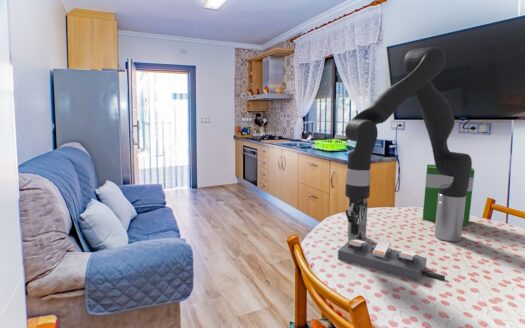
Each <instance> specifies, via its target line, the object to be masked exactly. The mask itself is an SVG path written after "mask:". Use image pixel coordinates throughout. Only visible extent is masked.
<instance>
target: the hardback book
mask: <svg viewBox="0 0 525 328" xmlns="http://www.w3.org/2000/svg"><path fill="white" fill-rule="evenodd" d="M453 178H454V177H451V176H445V175H442V174H440V173H439V172H438V171H437V169H436V166H435V164H427V165H426V175H425V187H424V199H423V208H422V210H423V212H422V220H423V221H432V222H436V212H437V202H438V190H439V186H440V185H444V184H450V183H452V182H453ZM474 178H475V169H474V167H472V168H471V174H470V179H469V186H468V189H467V192H466V200H465V210H464V219H463V226H469V224H470V214H471V213H470V212H471V206H472V205H471V204H472V197H473V196H472V195H473V189H474V187H473V186H474Z"/></svg>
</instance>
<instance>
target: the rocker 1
mask: <svg viewBox="0 0 525 328" xmlns="http://www.w3.org/2000/svg"><path fill="white" fill-rule="evenodd" d="M364 243H367V241H366V240H365V241H361V240H357V239H356V240H351V241H349V244H350V245H354V246H358V247H360V246H362V245H363V244H364Z"/></svg>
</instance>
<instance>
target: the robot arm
mask: <svg viewBox="0 0 525 328" xmlns="http://www.w3.org/2000/svg"><path fill="white" fill-rule="evenodd" d="M446 63H447V58H446V53H445V51H444V50H443V49H442V48H439V47H435V46H434V47H432V46H431V47H420V48H412V49H410V50H409V51H407V53H406V54H405V56H404V59H403V67H404V72H405V74H406V76H405V77H403V78H402V79H401V80H400V81H397V82H396V83H394V84H392V85H391V86H389V87H388V88H386V89H385V90H383V91H382V92H381V93H380V94H379V95H377V97H376V98H374V100H373V101H372V102H371V103H370V105H369V106H368V107H366V108H364V109H362V110H361V111H360V112H359V113H357V114H356V115H355V116H353V117H352V118H351V119H350V120H349V121H348V122H347V124H346V125H345V130H344V134H345V136H346V138H347V139H348V140H350V141H352V142H356V144H355V147H354V149H351V150H350V151H348V155H347V167H346V176H345V190H344V191H345V192H344V194H345V197H347V198H348V199H349V198H350V202H349V201H348V209H346V210H345V216H346V218H347V223H348V222H349V223H351V234H353V235H357V234H359V225H360V222H361V220H362V219H363V216H364V212H365V209H366V205H367V204H366V203H364V199H369V198H370V194H371V193H370V192H371V191H370V190H371V179H372V178H371V177H372V175H371V164H372V163H371V162H372V156H373V152H374V149H375V145H376V143H377V140H378V134H379V133H378V132H379V131H378V128H377V125H380V124H383V123H385V122H386V121H387V120H388V119H389V118H390V117H391V116H392V115H393V114H394V113H395V112H396V111H397V109H399V108H400V107H401V106H402V104H403V103H405V101H407V100H408V99H409V98H411V96H412V95H414V94H415V97H416V100H417V103H418V105H419V110H420V111H421V116H422V120H423V123H424V125H425V128H426V131H427V135H428V137H429V141H430V145H431V149H432V150H431V151H432V154H433V159H434V165H435V166H436V169H437V171H438V172H439V173H440V174H442V175H445V176H451V177H454V178H453V182H452V183H450V184H444V185H440V186H439V190H438V202H437V212H436V221H435V225H434V237H435V238H437V239H440V240H442V241H445V242H460V241H462V236H463V227H464V225H463V219H464V210H465V200H466V192H467V189H468V186H469V179H470V174H471V168H473V165H472V164H473V161H472V157H471V156H470V154H468V153H464V152H463V153H462V152H454V151H450V149H449V147H448V146H449V145H448V139H449V137H450V135H451V134H452V132H453V130H454V127H455V117H454V114H453V110H452V107H451V104H450V103H449V101H448V99H446V98H445V97H444V96H443V94H442V93H441V92H440V91H439V90H438V89H437V88H436V87H435V85H434V83H433V82H432V80H434V79H435V78H436V77H437V76H438V75H439V74H440V73H441V72H442V71H443V70H444V67H445V65H446Z"/></svg>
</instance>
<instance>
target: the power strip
mask: <svg viewBox="0 0 525 328" xmlns="http://www.w3.org/2000/svg"><path fill="white" fill-rule="evenodd" d="M351 240H352V239H350V240H349V241H351ZM349 241H348V240H347V242H346V243H345V244H344V245H342V246H341V247H340V248H339V249H338V250H337V259H338V260H342V261H345V262H348V263H352V264H355V265H358V266H363V267H366V268H370V269H373V270H377V271H380V272H384V273H387V274H391V275H393V276H399V277H401V278H405V279H408V280H412V281H416V282H419V281H420V279H422V278H421V277H422V276H423V275H424V276H427V277H432V278H435V279H438V280H443V281H445V279H446V275H443V274H440V273H439V274H438V273H437V272H436V273H435V272H431V271H427V270H426V267H427V261H428V259H427V257H424V256H420V255H417V254H416V256H415V258H414V259H412V260H410V259H406V258H402V257H399V253H401V252H402V251H401V250H394V249H393V248H389V249H388V251H387V253H386V255H385V257H384V258H383V257H379V256H375V255H373V251H374V249H375V247H376V245H377V244H376V245H375V244H370V243H367V242H366V243H364V244H363V245H362V246H360V247H358V246H354V245H350V244H349Z"/></svg>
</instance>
